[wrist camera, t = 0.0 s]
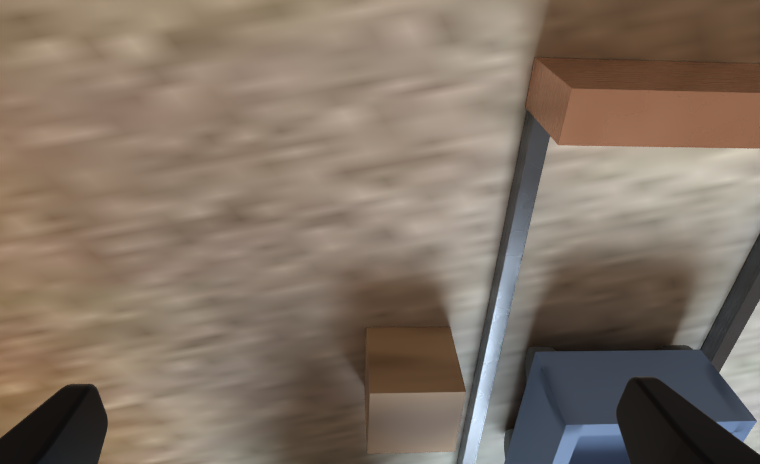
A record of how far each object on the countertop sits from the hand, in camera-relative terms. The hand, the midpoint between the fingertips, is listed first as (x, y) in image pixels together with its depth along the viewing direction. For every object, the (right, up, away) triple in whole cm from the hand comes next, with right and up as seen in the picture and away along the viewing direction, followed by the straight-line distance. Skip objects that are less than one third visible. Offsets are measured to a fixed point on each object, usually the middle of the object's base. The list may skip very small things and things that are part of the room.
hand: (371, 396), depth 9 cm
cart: (+12, -7, +22) cm, 27 cm away
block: (+2, -4, +20) cm, 21 cm away
